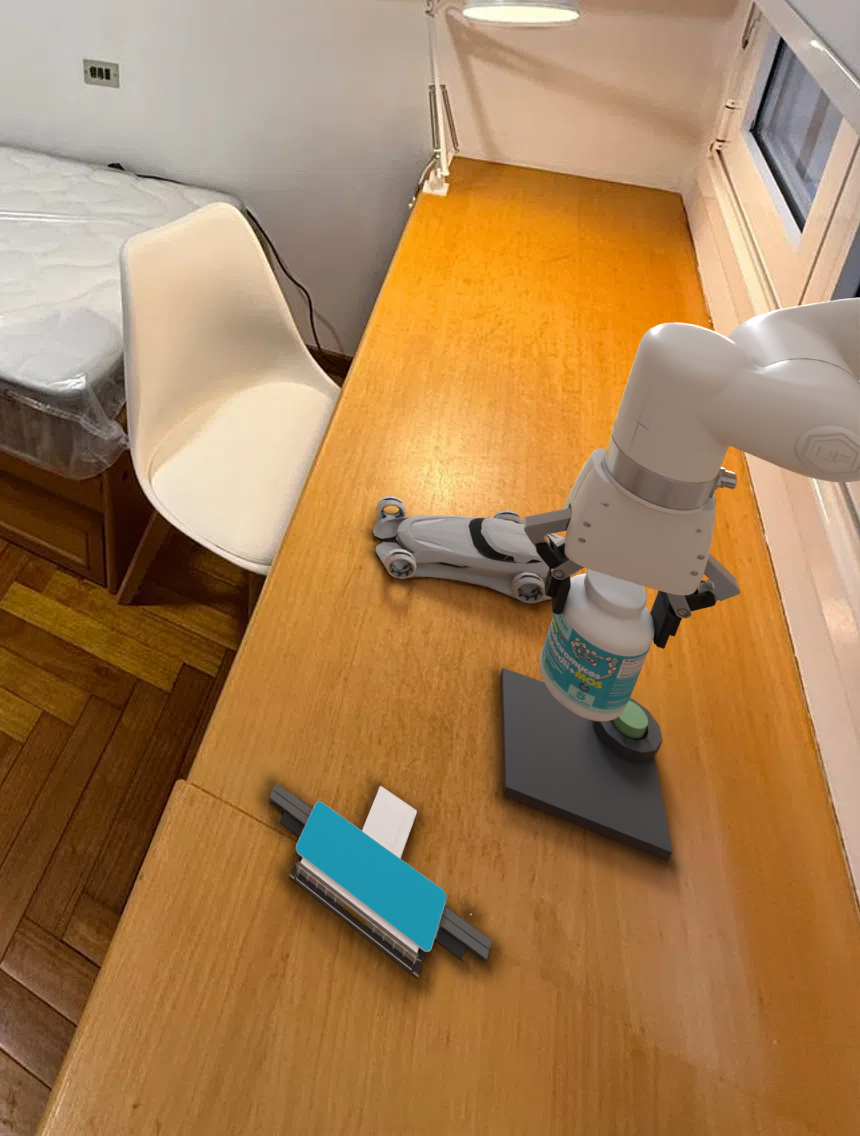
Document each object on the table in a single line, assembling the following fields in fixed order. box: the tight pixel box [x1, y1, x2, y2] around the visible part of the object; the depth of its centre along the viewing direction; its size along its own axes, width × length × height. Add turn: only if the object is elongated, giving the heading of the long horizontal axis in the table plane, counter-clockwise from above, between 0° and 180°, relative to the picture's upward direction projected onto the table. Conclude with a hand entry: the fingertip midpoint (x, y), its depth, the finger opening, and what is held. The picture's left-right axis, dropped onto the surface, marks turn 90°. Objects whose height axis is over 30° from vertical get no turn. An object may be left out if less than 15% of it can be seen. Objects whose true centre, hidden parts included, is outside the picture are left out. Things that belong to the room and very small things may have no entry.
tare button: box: [612, 701, 648, 739], centre depth 85 cm, size 3×3×2 cm
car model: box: [372, 495, 579, 604], centre depth 106 cm, size 11×24×5 cm, turn 80°
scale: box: [499, 667, 673, 862], centre depth 84 cm, size 14×13×3 cm
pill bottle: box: [538, 568, 655, 721], centre depth 76 cm, size 8×7×14 cm
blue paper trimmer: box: [268, 782, 493, 980], centre depth 76 cm, size 20×12×2 cm, turn 53°
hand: (604, 616), depth 75 cm, fingers closed on pill bottle, 7 cm apart
